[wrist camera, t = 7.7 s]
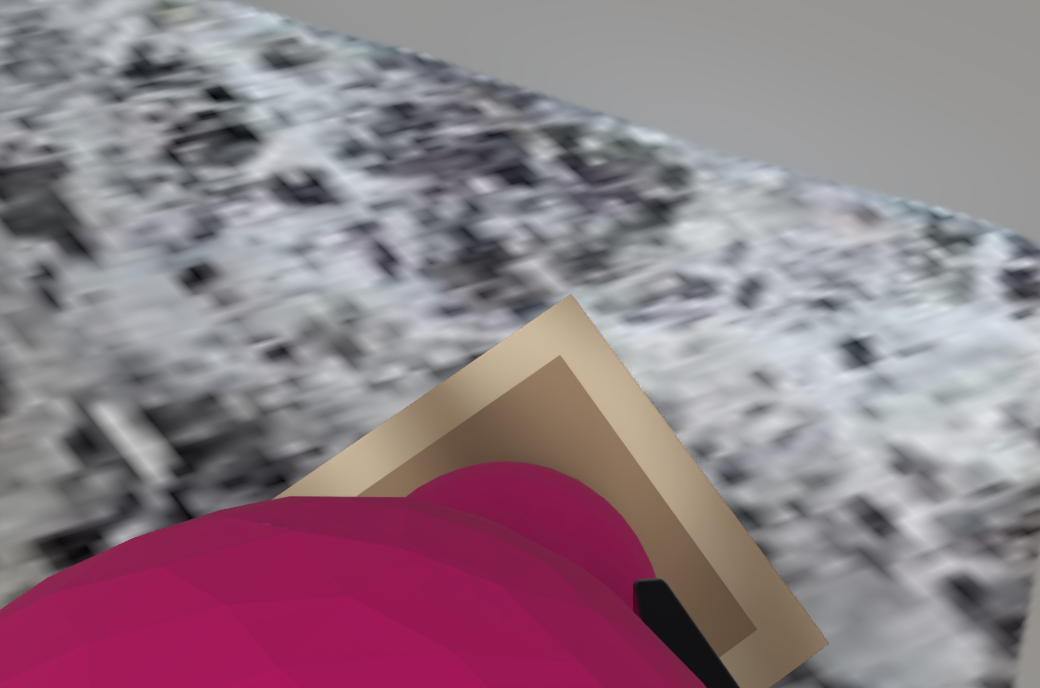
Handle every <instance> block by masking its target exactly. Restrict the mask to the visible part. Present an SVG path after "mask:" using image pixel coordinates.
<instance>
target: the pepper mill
mask: <svg viewBox="0 0 1040 688" xmlns="http://www.w3.org/2000/svg"><path fill="white" fill-rule="evenodd" d="M651 578H656V575H655V572H654V569H653V566H652V564H651V562H650V560H649V558H648V556H647V554H646V552H645V550H644V548H643V546H642V544H641V542H640V540H639V539H638V537H637V535H636V534H635V532H634V531H633V530H632V528H631V527H630V526H629V524H628V523H627V522H626V520H625V519H624V518H623V516H622V515H621V514H620V513H619V512H618V511H617V510H616V509H615V508H614V507H613V506H612V505H611V504H610V503H609V502H608V501H607V500H606V499H605V498H604V497H602V496H601V495H599V494H598V493H596V492H595V491H594V490H592V489H591V488H589V487H588V486H586V485H585V484H583V483H582V482H581V481H579V480H578V479H575V478H573V477H570V476H568V475H566V474H563V473H561V472H558V471H556V470H554V469H551V468H548V467H544V466H539V465H535V464H530V463H524V462H509V461H500V462H489V463H480V464H476V465H472V466H468V467H464V468H460V469H457V470H454V471H452V472H449V473H446V474H444V475H441V476H439V477H437V478H435V479H433V480H431V481H429V482H428V483H426V484H424V485H422V486H420V487H418V488H417V489H415V490H414V491H413V492H412V493H410V494H409V495H408V496H406V497H340V496H288V497H283V498H278V499H273V500H268V501H263V502H258V503H253V504H248V505H244V506H239V507H234V508H229V509H224V510H219V511H216V512H213V513H210V514H207V515H204V516H201V517H198V518H194V519H191V520H188V521H185V522H182V523H179V524H176V525H173V526H169V527H166V528H163V529H160V530H157V531H154V532H151V533H148V534H144V535H141V536H138V537H135V538H132V539H130V540H128V541H126V542H124V543H122V544H119V545H117V546H115V547H113V548H111V549H109V550H106V551H104V552H102V553H100V554H98V555H96V556H93V557H91V558H89V559H87V560H85V561H83V562H80V563H78V564H76V565H74V566H72V567H70V568H67V569H65V570H63V571H61V572H59V573H57V574H54V575H52V576H50V577H48V578H46V579H45V580H43V581H42V582H40V583H39V584H38V585H36V586H35V587H33V588H32V589H30V590H29V591H27V592H26V593H24V594H23V595H21V596H20V597H18V598H17V599H16V600H14V601H13V602H11V603H10V604H8V605H7V606H5V607H4V608H2V609H1V610H0V688H706V686H705V685H704V684H703V683H702V681H701V680H700V679H699V678H698V677H697V676H696V675H695V674H694V673H693V672H692V671H691V670H690V669H689V668H688V667H687V666H686V665H685V664H684V663H683V662H682V661H681V660H680V659H679V658H678V657H677V656H676V655H675V654H674V653H673V652H672V651H671V650H670V649H669V648H668V647H667V646H666V645H665V644H664V643H663V642H662V641H661V640H660V639H659V638H658V637H657V636H656V635H655V634H654V633H653V631H652V630H651V629H650V628H649V627H648V626H647V625H646V624H645V623H644V622H643V621H642V620H641V619H640V618H639V617H638V616H637V615H636V614H635V613H634V612H633V583H634V581H636V580H638V579H651Z"/></svg>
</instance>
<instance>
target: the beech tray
mask: <svg viewBox="0 0 1040 688" xmlns="http://www.w3.org/2000/svg"><path fill="white" fill-rule="evenodd" d="M500 461H509V462H524V463H530V464H535V465H539V466H544V467H548V468H551V469H554V470H556V471H558V472H561V473H563V474H566V475H568V476H570V477H573V478H575V479H578V480H579V481H581V482H582V483H583V484H585V485H586V486H588V487H589V488H591V489H592V490H594V491H595V492H596V493H598V494H599V495H601V496H602V497H604V498H605V499H606V500H607V501H608V502H609V503H610V504H611V505H612V506H613V507H614V508H615V509H616V510H617V511H618V512H619V513H620V514H621V515H622V516H623V518H624V519H625V520H626V522H627V523H628V524H629V526H630V527H631V528H632V530H633V531H634V532H635V534H636V535H637V537H638V539H639V540H640V542H641V544H642V546H643V548H644V550H645V552H646V554H647V556H648V558H649V560H650V562H651V564H652V566H653V569H654V572H655V575H656V578H661V579H663V580H664V581H665V582H666V583H667V584H668V585H669V587H670V588H671V589H672V591H673V592H674V594H675V595H676V597H677V598H678V599H679V601H680V602H681V604H682V605H683V607H684V608H685V609H686V611H687V612H688V614H689V615H690V617H691V618H692V619H693V621H694V622H695V624H696V625H697V627H698V628H699V629H700V631H701V632H702V634H703V635H704V637H705V638H706V639H707V641H708V642H709V644H710V645H711V647H712V648H713V649H714V651H715V652H716V654H717V655H718V657H719V658H720V659H721V661H722V662H723V664H724V665H725V667H726V668H727V669H728V671H729V672H730V674H731V675H732V677H733V678H734V679H735V681H736V682H737V684H738V685H739V686H740V688H770V687H771V686H773V685H774V684H775V683H777V682H778V681H779V680H781V679H782V678H783V677H785V676H786V675H787V674H789V673H790V672H791V671H793V670H794V669H796V668H797V667H798V666H800V665H801V664H802V663H804V662H805V661H806V660H808V659H809V658H810V657H812V656H813V655H814V654H816V653H817V652H818V651H820V650H821V649H822V648H824V647H825V646H827V645H828V644H829V642H828V641H827V639H826V638H825V637H824V635H823V634H822V632H821V631H820V630H819V628H818V627H817V626H816V624H815V623H814V622H813V620H812V619H811V618H810V616H809V615H808V614H807V612H806V611H805V609H804V608H803V607H802V605H801V604H800V603H799V601H798V600H797V599H796V597H795V596H794V595H793V593H792V592H791V591H790V589H789V588H788V587H787V585H786V584H785V582H784V581H783V580H782V578H781V577H780V576H779V574H778V573H777V572H776V570H775V569H774V568H773V566H772V565H771V564H770V562H769V561H768V559H767V558H766V557H765V555H764V554H763V553H762V551H761V550H760V549H759V547H758V546H757V545H756V543H755V542H754V541H753V539H752V538H751V536H750V535H749V534H748V532H747V531H746V530H745V528H744V527H743V526H742V524H741V523H740V522H739V520H738V519H737V518H736V516H735V515H734V513H733V512H732V511H731V509H730V508H729V507H728V505H727V504H726V503H725V501H724V500H723V499H722V497H721V496H720V495H719V493H718V492H717V490H716V489H715V488H714V486H713V485H712V484H711V482H710V481H709V480H708V478H707V477H706V476H705V474H704V473H703V472H702V470H701V469H700V467H699V466H698V465H697V463H696V462H695V461H694V459H693V458H692V457H691V455H690V454H689V453H688V451H687V450H686V449H685V447H684V446H683V445H682V443H681V442H680V440H679V439H678V438H677V436H676V435H675V434H674V432H673V431H672V430H671V428H670V427H669V426H668V424H667V423H666V422H665V420H664V419H663V417H662V416H661V415H660V413H659V412H658V411H657V409H656V408H655V407H654V405H653V404H652V403H651V401H650V400H649V399H648V397H647V396H646V394H645V393H644V392H643V390H642V389H641V388H640V386H639V385H638V384H637V382H636V381H635V380H634V378H633V377H632V376H631V374H630V373H629V371H628V370H627V369H626V367H625V366H624V365H623V363H622V362H621V361H620V359H619V358H618V357H617V355H616V354H615V353H614V351H613V350H612V348H611V347H610V346H609V344H608V343H607V342H606V340H605V339H604V338H603V336H602V335H601V334H600V332H599V331H598V330H597V328H596V327H595V326H594V324H593V323H592V321H591V320H590V319H589V317H588V316H587V315H586V313H585V312H584V311H583V309H582V308H581V307H580V305H579V304H578V303H577V301H576V300H575V298H574V297H573V296H572V294H570V295H569V296H567V297H566V298H564V299H563V300H562V301H560V302H559V303H557V304H556V305H554V306H553V307H551V308H550V309H548V310H547V311H546V312H544V313H543V314H541V315H540V316H538V317H537V318H535V319H534V320H532V321H531V322H530V323H528V324H527V325H525V326H524V327H522V328H521V329H519V330H518V331H516V332H515V333H514V334H512V335H511V336H509V337H508V338H506V339H505V340H503V341H502V342H500V343H499V344H498V345H496V346H495V347H493V348H492V349H490V350H489V351H487V352H486V353H484V354H483V355H482V356H480V357H479V358H477V359H476V360H474V361H473V362H471V363H470V364H468V365H467V366H466V367H464V368H463V369H461V370H460V371H458V372H457V373H455V374H454V375H452V376H451V377H450V378H448V379H447V380H445V381H444V382H442V383H441V384H439V385H438V386H436V387H435V388H434V389H432V390H431V391H429V392H428V393H426V394H425V395H423V396H422V397H421V398H419V399H418V400H416V401H415V402H413V403H412V404H410V405H409V406H407V407H406V408H405V409H403V410H402V411H400V412H399V413H397V414H396V415H394V416H393V417H391V418H390V419H389V420H387V421H386V422H384V423H383V424H381V425H380V426H378V427H377V428H375V429H374V430H373V431H371V432H370V433H368V434H367V435H365V436H364V437H362V438H361V439H359V440H358V441H357V442H355V443H354V444H352V445H351V446H349V447H348V448H346V449H345V450H343V451H342V452H341V453H339V454H338V455H336V456H335V457H333V458H332V459H330V460H329V461H327V462H326V463H325V464H323V465H322V466H320V467H319V468H317V469H316V470H314V471H313V472H311V473H310V474H309V475H307V476H306V477H304V478H303V479H301V480H300V481H298V482H297V483H295V484H294V485H293V486H291V487H290V488H288V489H287V490H285V491H284V492H282V493H281V494H279V495H278V496H277V497H275V498H274V499H278V498H283V497H288V496H340V497H406V496H408V495H409V494H410V493H412V492H413V491H414V490H415V489H417V488H418V487H420V486H422V485H424V484H426V483H428V482H429V481H431V480H433V479H435V478H437V477H439V476H441V475H444V474H446V473H449V472H452V471H454V470H457V469H460V468H464V467H468V466H472V465H476V464H480V463H489V462H500ZM272 500H273V499H272Z"/></svg>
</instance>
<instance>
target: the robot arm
mask: <svg viewBox="0 0 1040 688" xmlns="http://www.w3.org/2000/svg"><path fill="white" fill-rule="evenodd" d="M633 612H634V613H635V614H636V615H637V616H638V617H639V618H640V619H641V620H642V621H643V622H644V623H645V624H646V625H647V626H648V627H649V628H650V629H651V630H652V631H653V633H654V634H655V635H656V636H657V637H658V638H659V639H660V640H661V641H662V642H663V643H664V644H665V645H666V646H667V647H668V648H669V649H670V650H671V651H672V652H673V653H674V654H675V655H676V656H677V657H678V658H679V659H680V660H681V661H682V662H683V663H684V664H685V665H686V666H687V667H688V668H689V669H690V670H691V671H692V672H693V673H694V674H695V675H696V676H697V677H698V678H699V679H700V680H701V681H702V683H703V684H704V685H705V686H706V688H740V686H739V685H738V684H737V682H736V681H735V679H734V678H733V677H732V675H731V674H730V672H729V671H728V669H727V668H726V667H725V665H724V664H723V662H722V661H721V659H720V658H719V657H718V655H717V654H716V652H715V651H714V649H713V648H712V647H711V645H710V644H709V642H708V641H707V639H706V638H705V637H704V635H703V634H702V632H701V631H700V629H699V628H698V627H697V625H696V624H695V622H694V621H693V619H692V618H691V617H690V615H689V614H688V612H687V611H686V609H685V608H684V607H683V605H682V604H681V602H680V601H679V599H678V598H677V597H676V595H675V594H674V592H673V591H672V589H671V588H670V587H669V585H668V584H667V583H666V582H665V581H664V580H663V579H661V578H651V579H638V580H636V581H634V583H633Z"/></svg>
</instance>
